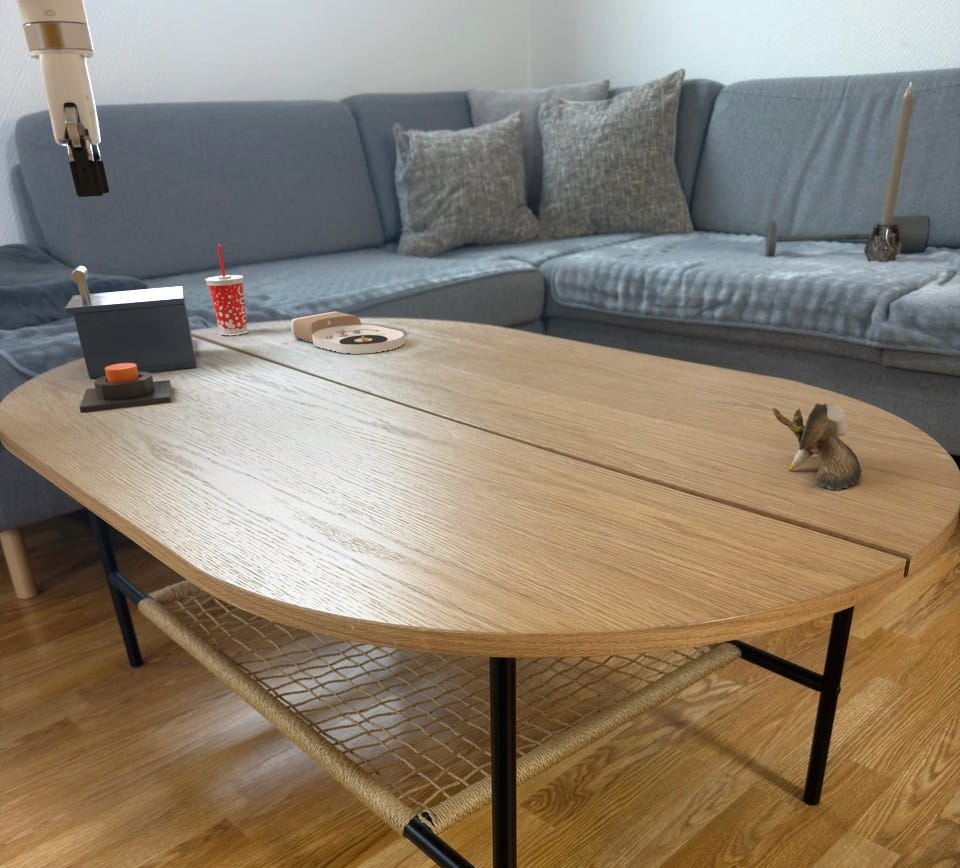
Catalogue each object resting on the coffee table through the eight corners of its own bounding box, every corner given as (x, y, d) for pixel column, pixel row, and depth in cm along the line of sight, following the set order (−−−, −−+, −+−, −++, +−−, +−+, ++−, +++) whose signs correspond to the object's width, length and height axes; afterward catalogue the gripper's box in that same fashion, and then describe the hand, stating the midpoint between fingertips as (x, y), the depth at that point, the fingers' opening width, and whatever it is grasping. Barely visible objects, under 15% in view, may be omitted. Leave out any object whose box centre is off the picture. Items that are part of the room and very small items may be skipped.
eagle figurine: (746, 446, 81) (779, 460, 72) (792, 378, 79) (831, 384, 70) (811, 487, 82) (852, 505, 73) (858, 421, 80) (905, 432, 72)
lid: (65, 314, 118) (55, 274, 115) (74, 301, 128) (65, 264, 126) (184, 303, 121) (177, 265, 119) (183, 291, 132) (176, 256, 130)
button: (107, 386, 102) (103, 371, 101) (109, 379, 105) (105, 365, 105) (139, 382, 103) (135, 367, 102) (140, 376, 106) (136, 361, 105)
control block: (84, 425, 101) (75, 391, 99) (90, 406, 109) (82, 374, 107) (173, 414, 103) (166, 381, 101) (173, 397, 111) (166, 365, 109)
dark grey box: (89, 379, 122) (73, 314, 118) (96, 360, 133) (81, 300, 128) (196, 367, 126) (184, 304, 121) (194, 350, 136) (183, 292, 132)
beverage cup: (237, 337, 144) (221, 247, 138) (207, 336, 146) (191, 247, 140) (259, 330, 149) (245, 242, 143) (230, 329, 151) (215, 242, 145)
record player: (344, 309, 145) (418, 324, 132) (346, 328, 147) (419, 345, 133) (283, 320, 139) (354, 337, 125) (286, 340, 140) (356, 359, 127)
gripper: (37, 51, 115) (71, 194, 123) (15, 36, 100) (55, 199, 108) (98, 50, 116) (127, 190, 124) (85, 35, 102) (119, 195, 110)
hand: (94, 194), depth 116 cm, fingers open, 9 cm apart
